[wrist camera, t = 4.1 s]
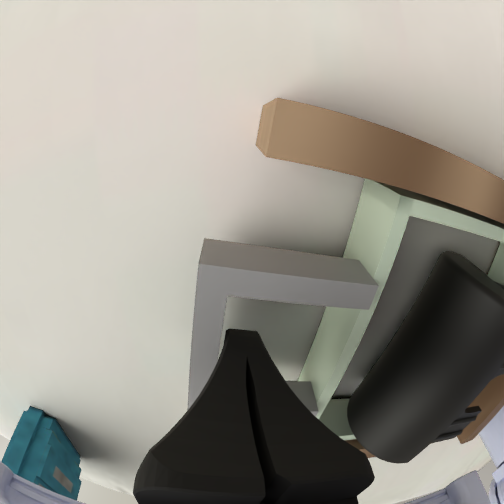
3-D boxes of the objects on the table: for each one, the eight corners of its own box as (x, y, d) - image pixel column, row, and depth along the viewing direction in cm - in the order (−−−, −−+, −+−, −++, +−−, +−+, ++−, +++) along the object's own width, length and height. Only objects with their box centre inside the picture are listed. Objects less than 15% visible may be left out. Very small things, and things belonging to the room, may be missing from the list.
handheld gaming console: (22, 401, 18) (-29, 532, 4) (58, 413, 18) (13, 560, 5) (57, 451, 22) (29, 557, 8) (89, 462, 22) (66, 574, 9)
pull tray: (511, 225, 13) (549, 249, 10) (422, 395, 19) (439, 428, 15) (218, 147, 11) (212, 159, 8) (191, 398, 17) (186, 445, 13)
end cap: (414, 231, 13) (505, 308, 7) (488, 264, 14) (557, 325, 8) (331, 378, 17) (360, 471, 11) (411, 382, 18) (448, 454, 12)
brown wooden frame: (547, 213, 13) (593, 241, 9) (450, 400, 20) (472, 439, 16) (263, 105, 11) (283, 94, 6) (211, 413, 18) (209, 478, 13)
